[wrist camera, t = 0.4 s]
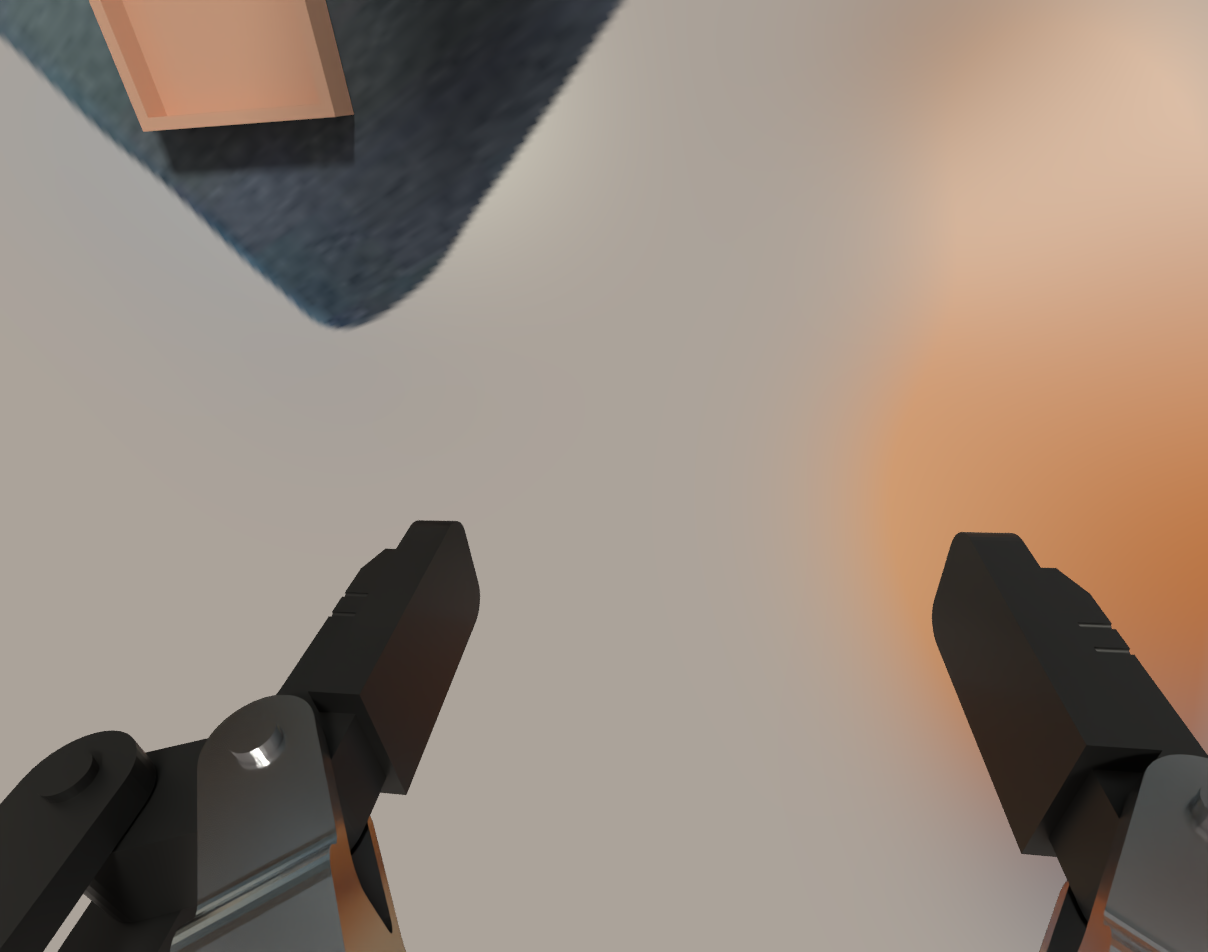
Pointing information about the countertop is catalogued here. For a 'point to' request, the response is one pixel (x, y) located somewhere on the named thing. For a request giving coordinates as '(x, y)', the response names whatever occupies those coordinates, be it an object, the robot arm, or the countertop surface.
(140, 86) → the dish
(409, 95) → the countertop surface
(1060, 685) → the robot arm
